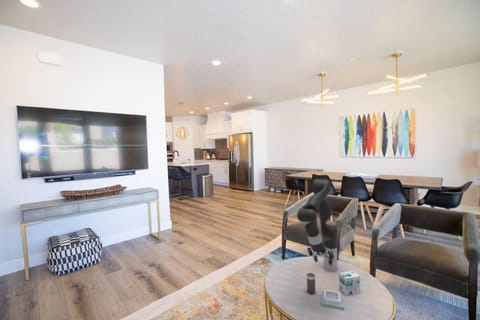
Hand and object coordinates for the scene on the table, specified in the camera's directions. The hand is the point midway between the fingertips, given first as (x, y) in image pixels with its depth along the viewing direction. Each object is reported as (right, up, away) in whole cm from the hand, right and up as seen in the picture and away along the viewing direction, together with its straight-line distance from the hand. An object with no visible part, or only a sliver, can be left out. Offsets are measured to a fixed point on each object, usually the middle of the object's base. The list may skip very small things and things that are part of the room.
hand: (323, 262), depth 130 cm
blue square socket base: (+5, -23, +1) cm, 24 cm away
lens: (-4, -23, +10) cm, 26 cm away
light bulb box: (+20, -23, +10) cm, 32 cm away
